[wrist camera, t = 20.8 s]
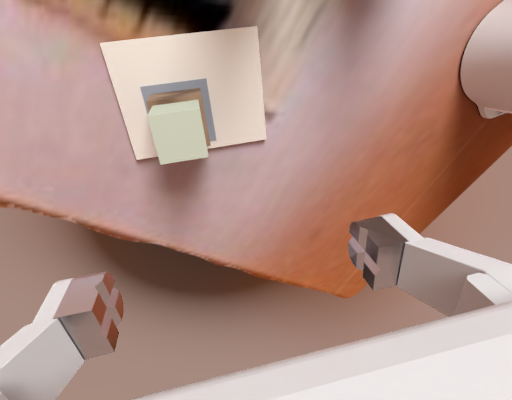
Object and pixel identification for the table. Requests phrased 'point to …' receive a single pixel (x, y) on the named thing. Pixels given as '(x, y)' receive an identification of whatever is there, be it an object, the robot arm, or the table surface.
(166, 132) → the sage cube
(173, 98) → the walnut cube
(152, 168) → the table surface
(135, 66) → the white flat board
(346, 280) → the table surface
